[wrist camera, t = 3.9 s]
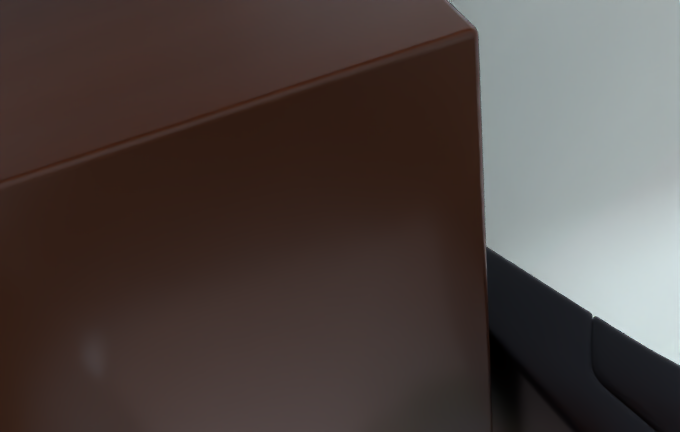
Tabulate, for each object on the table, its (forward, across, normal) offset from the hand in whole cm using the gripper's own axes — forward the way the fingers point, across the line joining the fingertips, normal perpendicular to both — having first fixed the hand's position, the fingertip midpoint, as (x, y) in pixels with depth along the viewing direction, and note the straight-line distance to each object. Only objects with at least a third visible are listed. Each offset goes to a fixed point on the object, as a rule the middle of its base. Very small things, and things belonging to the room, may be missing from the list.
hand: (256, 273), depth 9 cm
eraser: (+1, 0, 0) cm, 1 cm away
